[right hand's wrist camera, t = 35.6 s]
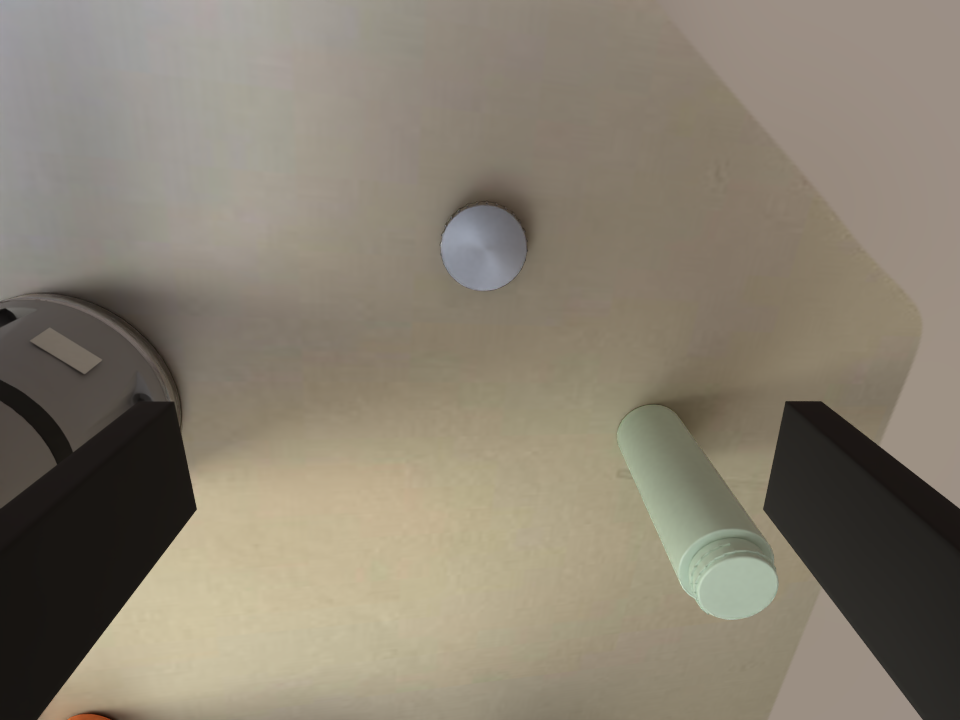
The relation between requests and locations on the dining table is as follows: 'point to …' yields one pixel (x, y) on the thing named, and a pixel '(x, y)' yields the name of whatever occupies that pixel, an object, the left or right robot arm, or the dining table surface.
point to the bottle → (697, 516)
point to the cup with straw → (88, 717)
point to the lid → (483, 246)
